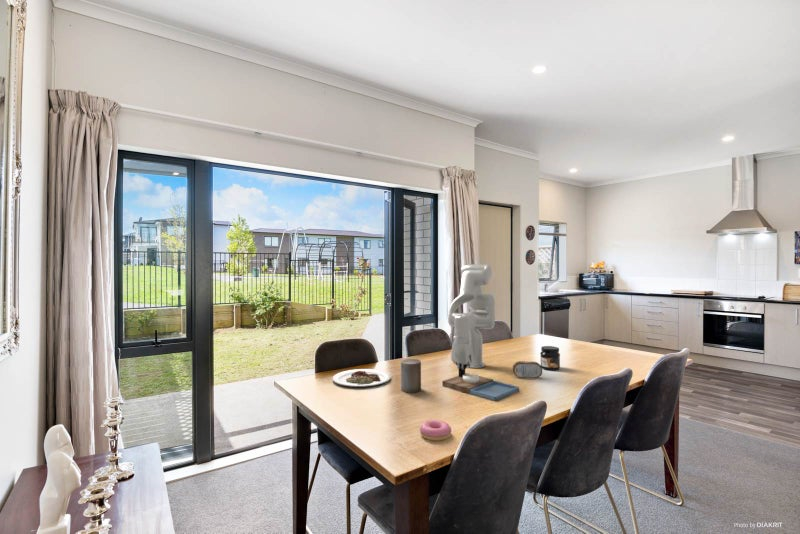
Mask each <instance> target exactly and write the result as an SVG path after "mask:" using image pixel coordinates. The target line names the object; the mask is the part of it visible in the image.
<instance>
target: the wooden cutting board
mask: <svg viewBox="0 0 800 534" xmlns="http://www.w3.org/2000/svg"><path fill="white" fill-rule="evenodd" d="M465 374H470V373H469V372H465ZM491 381H494V379H493V378H489V377H485V376H482V375H481V376H480V375H479V383H476V384H469V383H465V382H463V377H459V375H457V376H453V377H450V378H446V379H444V380H442V383H441V384H442V387H445V388H447V389H452V390H455V391H459V392H461V393H465V394H469V395H471V394H470V389H473V388H475V387H478V386H481V385H483V384H486V383H489V382H491Z"/></svg>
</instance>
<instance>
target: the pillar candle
mask: <svg viewBox="0 0 800 534" xmlns="http://www.w3.org/2000/svg"><path fill="white" fill-rule="evenodd" d="M421 361H422V360H420V359H417V358H406V359H402V360H401V361H400V390H401V391H402V392H404V393H409V394H410V393H412V394H413V393H419V392H420V391H421V390H422V362H421Z"/></svg>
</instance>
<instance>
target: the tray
mask: <svg viewBox="0 0 800 534" xmlns="http://www.w3.org/2000/svg"><path fill="white" fill-rule="evenodd" d="M518 392H520V387H519V386H518V385H517V386H516V385H514V384H510V383H504V382H501V381H497V380H493V381H491V382H489V383H486V384H483V385H481V386H478V387H475V388H473V389H470V394H469V395H471V396H475V397H480V398H482V399H486V400H489V401H493V402H498V401H499V400H502V399H504V398H506V397H509V396H511V395H514V394H516V393H518Z"/></svg>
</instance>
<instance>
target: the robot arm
mask: <svg viewBox="0 0 800 534" xmlns="http://www.w3.org/2000/svg"><path fill="white" fill-rule="evenodd" d="M492 270H493V269H492V267H491V265H489V264H486V263H485V264H483V263H482V264H480V263H479V264H471V263H470V264H463V265H462V266H461V268H460V272H461V278H460V280H461V281H460V287H459V294H458V296H456V297H455V298H454V299H453V300H452V302H451V303H450V306H449V309H448V318H447V323H448V325H449V327H453V328H454V329H453V331H454V335H453V337H452V339H453V342H452V346H451V351H450V352H451V353H450V354H451V355H450V358H451V361H452V363H453V364H454V365H455V366H456V367H457V369H458V376H459V377H463V375H464V374H466V369H467V368H470V369H481V368H484V367H486V363H484V362H483V334H482V333H481V331H480V329H481V330H483V329H484V330H492V329H494V327H495V322H496V321H495V320H496V315H495V314H496V311H495V310H496V307H495V306H496V303H495V297H494V296H493V295H492V294H490V293H482V286H487V285H488V283H489V281H490V280H491V277H492V273H493V272H492ZM464 304H466V306H467V308H468V309H469V310H473V311H468V312H467V313H466V312H456V310H457V309H458V307H461V306H462V305H464ZM474 310H476V311H474ZM482 311H485V312H482Z"/></svg>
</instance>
